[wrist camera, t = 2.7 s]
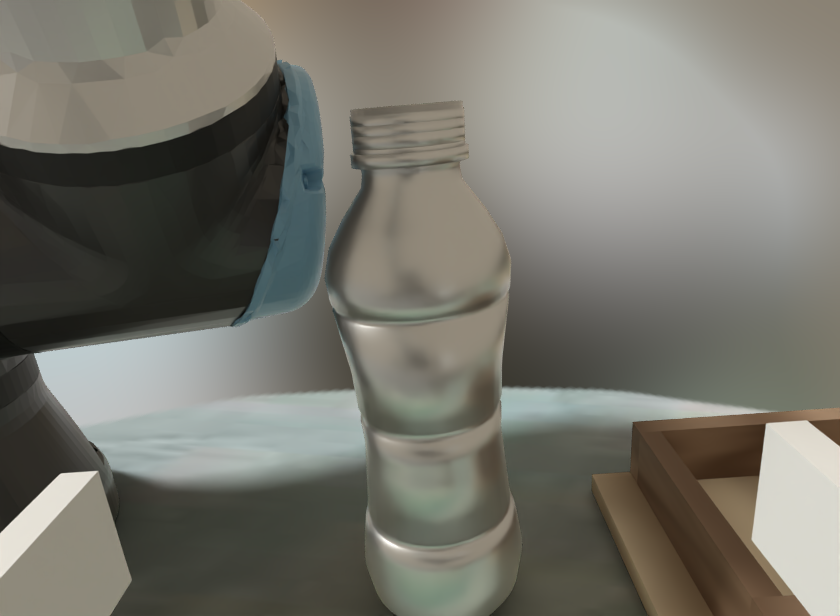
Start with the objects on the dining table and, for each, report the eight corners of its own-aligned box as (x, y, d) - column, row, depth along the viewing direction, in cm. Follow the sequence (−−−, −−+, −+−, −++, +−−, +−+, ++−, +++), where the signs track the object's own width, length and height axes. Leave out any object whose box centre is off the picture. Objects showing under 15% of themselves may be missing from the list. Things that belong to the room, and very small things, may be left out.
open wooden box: (694, 718, 19) (704, 627, 18) (591, 490, 30) (593, 424, 29) (1189, 691, 19) (1237, 596, 17) (897, 470, 30) (913, 402, 29)
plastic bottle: (556, 596, 24) (556, 92, 17) (426, 692, 21) (364, 107, 14) (461, 516, 29) (433, 103, 23) (343, 583, 26) (270, 116, 19)
